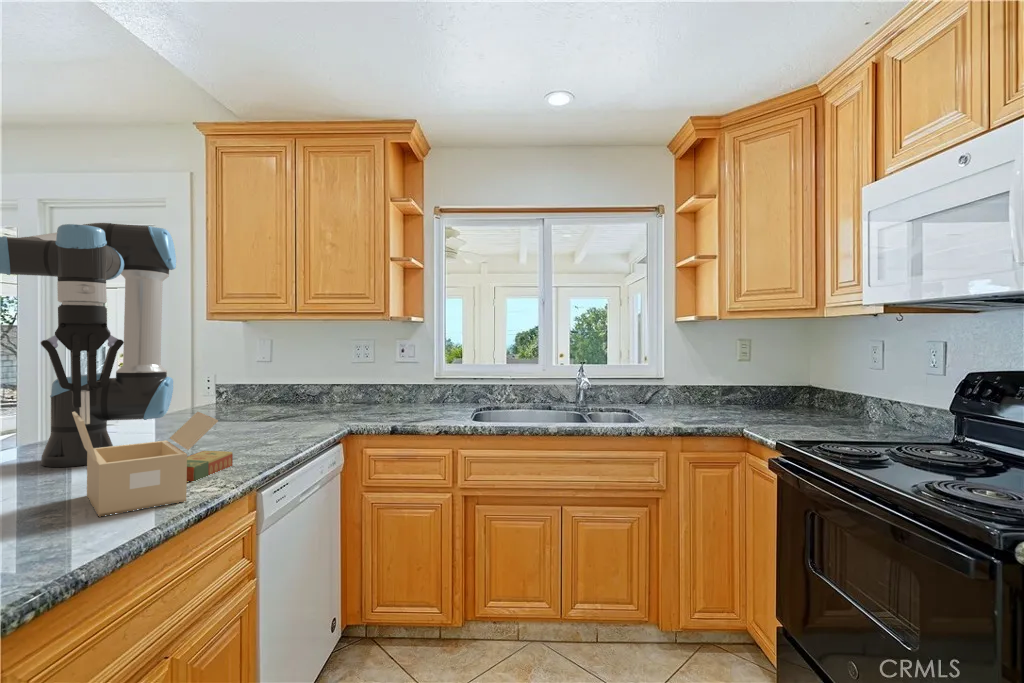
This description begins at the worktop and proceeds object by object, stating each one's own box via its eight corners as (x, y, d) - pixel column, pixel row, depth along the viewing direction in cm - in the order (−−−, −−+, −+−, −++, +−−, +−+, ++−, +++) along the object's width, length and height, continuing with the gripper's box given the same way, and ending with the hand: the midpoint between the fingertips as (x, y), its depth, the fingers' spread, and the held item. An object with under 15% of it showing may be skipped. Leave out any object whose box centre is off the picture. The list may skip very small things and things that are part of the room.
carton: (233, 467, 139) (233, 450, 139) (194, 484, 123) (194, 465, 123) (202, 465, 140) (203, 449, 140) (159, 482, 124) (160, 464, 124)
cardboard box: (86, 495, 112) (87, 448, 112) (166, 483, 122) (166, 440, 122) (98, 517, 99) (99, 464, 99) (186, 501, 109) (187, 454, 109)
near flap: (87, 447, 111) (84, 447, 110) (74, 411, 109) (71, 412, 109) (97, 459, 100) (94, 461, 100) (83, 420, 98) (80, 421, 98)
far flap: (197, 411, 125) (199, 412, 125) (169, 438, 121) (171, 439, 121) (216, 419, 114) (218, 420, 114) (186, 448, 110) (188, 450, 110)
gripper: (40, 302, 97) (43, 430, 97) (126, 305, 106) (128, 421, 106) (37, 304, 102) (40, 425, 102) (119, 306, 111) (121, 417, 111)
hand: (84, 423), depth 104 cm, fingers closed
